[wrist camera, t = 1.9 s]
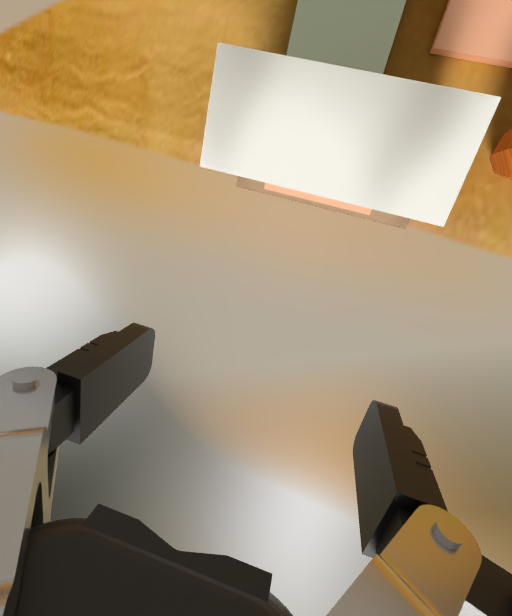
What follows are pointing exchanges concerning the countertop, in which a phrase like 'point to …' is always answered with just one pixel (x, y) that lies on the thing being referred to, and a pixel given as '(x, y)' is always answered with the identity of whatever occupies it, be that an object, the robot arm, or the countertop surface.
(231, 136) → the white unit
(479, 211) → the countertop surface
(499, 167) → the carrot
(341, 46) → the sage tile
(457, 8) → the terracotta tile
